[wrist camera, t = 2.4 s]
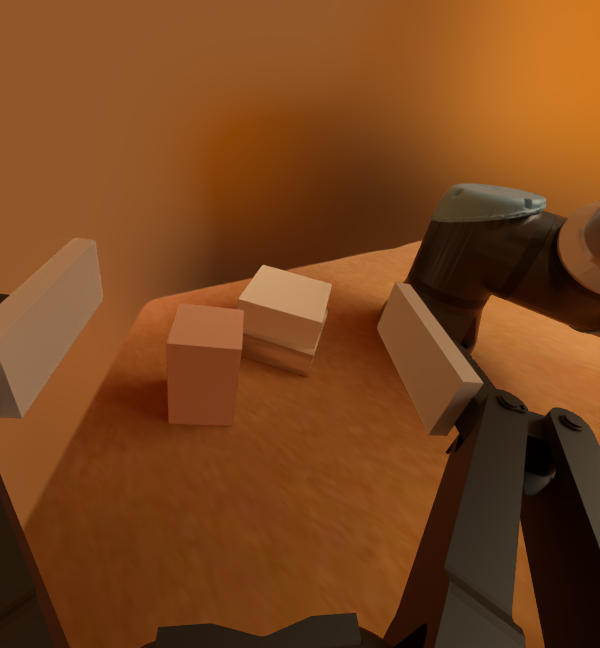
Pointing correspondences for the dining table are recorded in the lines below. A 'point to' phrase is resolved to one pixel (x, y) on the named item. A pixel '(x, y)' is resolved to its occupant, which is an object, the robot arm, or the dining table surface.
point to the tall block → (203, 364)
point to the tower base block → (279, 351)
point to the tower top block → (285, 306)
